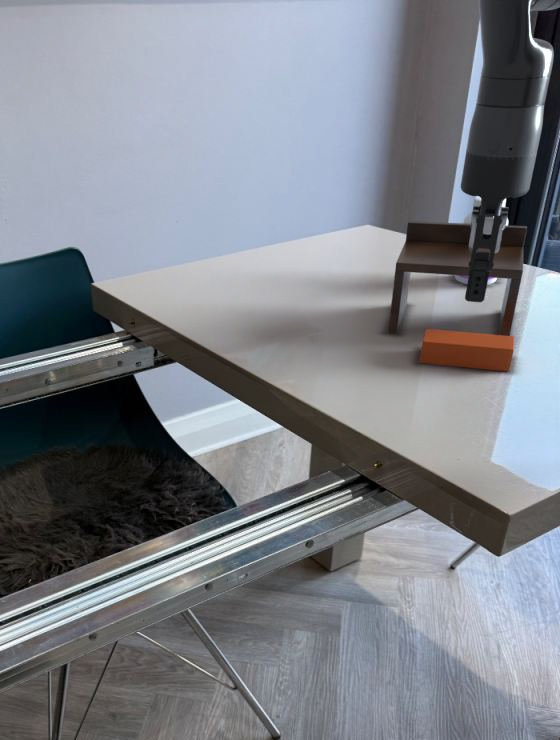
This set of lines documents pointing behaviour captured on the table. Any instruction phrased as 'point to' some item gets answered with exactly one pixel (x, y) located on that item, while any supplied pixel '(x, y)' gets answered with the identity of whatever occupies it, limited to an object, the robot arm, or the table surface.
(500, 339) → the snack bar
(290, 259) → the table surface
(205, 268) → the table surface
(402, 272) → the shelf
